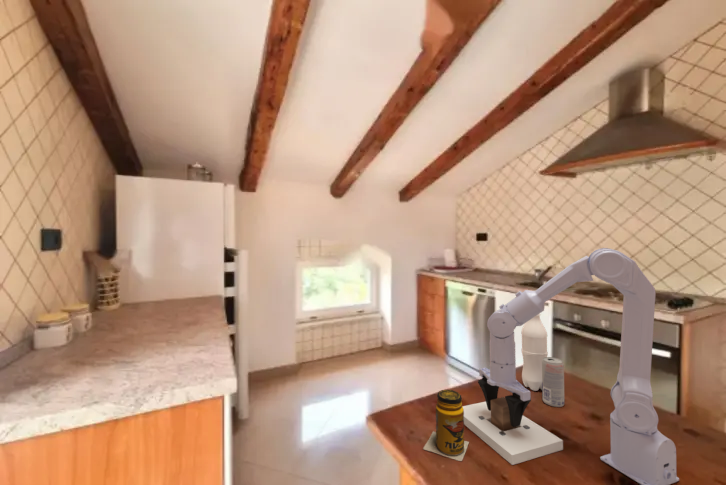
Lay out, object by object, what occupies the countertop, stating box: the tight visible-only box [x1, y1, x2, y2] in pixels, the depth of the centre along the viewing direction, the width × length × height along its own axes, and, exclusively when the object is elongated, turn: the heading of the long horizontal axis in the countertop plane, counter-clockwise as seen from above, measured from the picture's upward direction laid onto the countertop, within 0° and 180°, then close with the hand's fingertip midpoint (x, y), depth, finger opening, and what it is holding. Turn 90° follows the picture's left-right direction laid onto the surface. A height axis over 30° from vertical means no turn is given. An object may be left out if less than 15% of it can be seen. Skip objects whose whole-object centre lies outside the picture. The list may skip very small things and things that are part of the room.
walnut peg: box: [491, 396, 517, 431], centre depth 78 cm, size 4×4×7 cm
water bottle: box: [521, 313, 549, 392], centre depth 101 cm, size 7×7×25 cm
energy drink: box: [541, 356, 565, 408], centre depth 91 cm, size 5×5×12 cm
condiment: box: [422, 389, 470, 462], centre depth 73 cm, size 7×8×12 cm
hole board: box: [462, 400, 564, 466], centre depth 78 cm, size 20×14×2 cm
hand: (503, 417), depth 78 cm, fingers open, 7 cm apart
